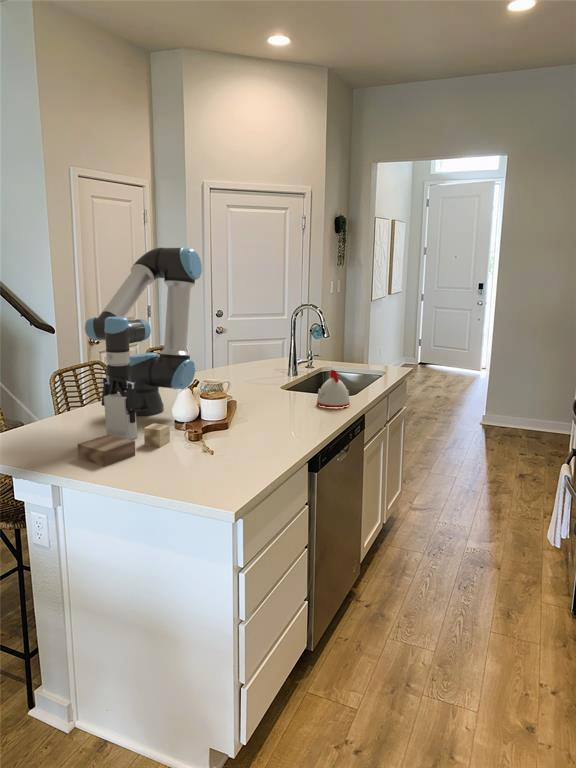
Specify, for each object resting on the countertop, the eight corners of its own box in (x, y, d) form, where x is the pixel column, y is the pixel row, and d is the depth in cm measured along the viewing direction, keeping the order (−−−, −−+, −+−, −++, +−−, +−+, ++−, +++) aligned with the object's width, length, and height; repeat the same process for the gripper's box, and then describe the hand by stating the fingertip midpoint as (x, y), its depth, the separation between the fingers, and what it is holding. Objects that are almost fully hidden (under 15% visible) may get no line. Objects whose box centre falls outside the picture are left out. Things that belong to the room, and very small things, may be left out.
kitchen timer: (341, 400, 259) (343, 366, 256) (354, 407, 246) (356, 373, 243) (312, 402, 255) (313, 368, 251) (324, 410, 242) (325, 374, 239)
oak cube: (144, 445, 193) (143, 428, 192) (154, 440, 199) (153, 423, 198) (160, 447, 191) (159, 430, 190) (169, 442, 197) (169, 425, 196)
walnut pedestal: (78, 459, 180) (77, 444, 179) (109, 449, 190) (108, 434, 189) (105, 467, 174) (104, 451, 173) (135, 456, 184) (134, 441, 182)
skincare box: (137, 437, 201) (136, 393, 197) (126, 443, 195) (124, 398, 191) (117, 435, 203) (115, 391, 200) (105, 440, 197) (103, 395, 194)
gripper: (87, 361, 196) (91, 426, 201) (131, 369, 184) (134, 437, 189) (106, 358, 203) (109, 421, 207) (149, 366, 191) (152, 432, 195)
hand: (121, 429), depth 198 cm, fingers closed on skincare box, 9 cm apart
